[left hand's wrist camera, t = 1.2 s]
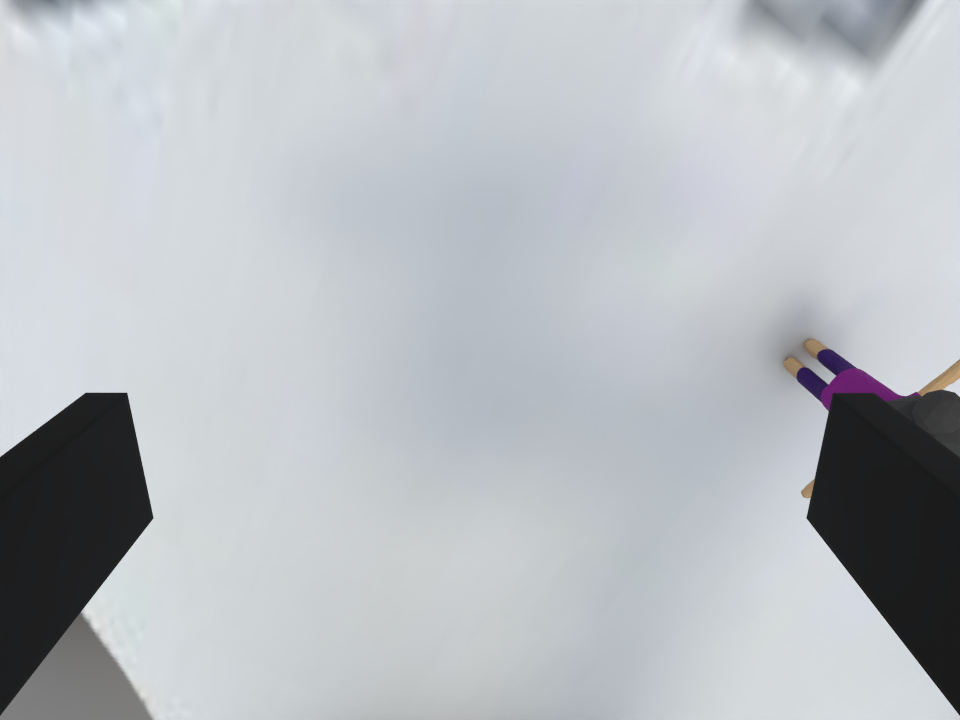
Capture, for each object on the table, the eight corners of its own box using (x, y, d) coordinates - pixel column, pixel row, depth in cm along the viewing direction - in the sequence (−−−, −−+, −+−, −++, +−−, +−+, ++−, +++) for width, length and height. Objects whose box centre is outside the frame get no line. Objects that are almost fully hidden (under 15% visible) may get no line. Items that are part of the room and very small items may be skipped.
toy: (755, 429, 43) (887, 591, 29) (696, 377, 41) (805, 521, 28) (889, 311, 40) (1109, 428, 26) (831, 251, 39) (1029, 340, 25)
